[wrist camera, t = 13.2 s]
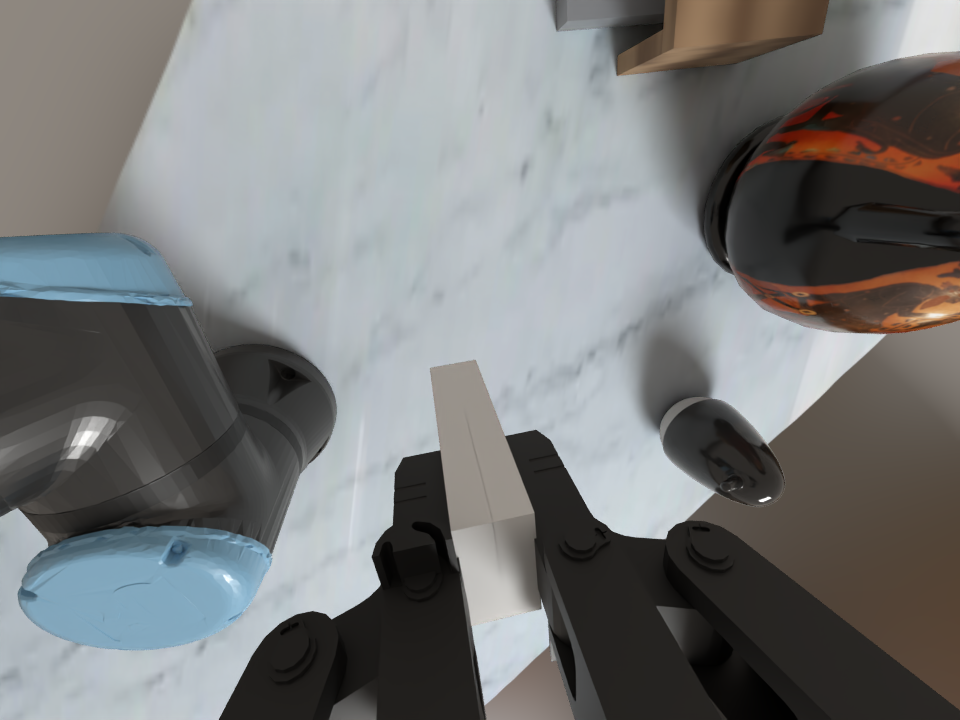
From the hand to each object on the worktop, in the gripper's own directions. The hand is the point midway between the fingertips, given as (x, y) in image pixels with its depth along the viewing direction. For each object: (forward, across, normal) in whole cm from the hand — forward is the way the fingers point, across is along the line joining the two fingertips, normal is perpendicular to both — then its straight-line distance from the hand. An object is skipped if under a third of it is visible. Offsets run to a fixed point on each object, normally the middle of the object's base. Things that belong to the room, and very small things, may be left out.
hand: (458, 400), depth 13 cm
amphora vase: (+30, -38, 0) cm, 48 cm away
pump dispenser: (+30, -31, +27) cm, 51 cm away
